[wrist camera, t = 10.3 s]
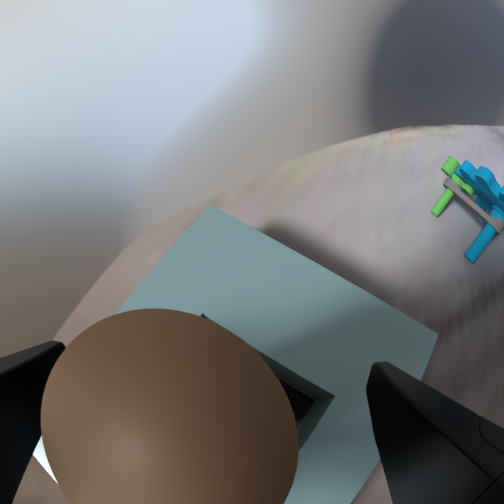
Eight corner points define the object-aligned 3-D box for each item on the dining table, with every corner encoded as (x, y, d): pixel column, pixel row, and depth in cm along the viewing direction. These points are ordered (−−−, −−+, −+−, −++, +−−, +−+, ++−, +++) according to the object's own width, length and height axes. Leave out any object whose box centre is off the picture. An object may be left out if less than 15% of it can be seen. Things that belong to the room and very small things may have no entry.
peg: (249, 464, 13) (225, 591, 2) (181, 433, 14) (15, 456, 3) (280, 400, 15) (342, 374, 4) (212, 371, 16) (108, 269, 5)
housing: (247, 570, 9) (245, 608, 5) (69, 441, 13) (23, 441, 9) (400, 354, 16) (438, 334, 12) (219, 249, 19) (210, 204, 15)
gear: (539, 249, 17) (570, 233, 10) (503, 300, 19) (519, 309, 12) (457, 173, 23) (446, 125, 16) (424, 220, 25) (400, 192, 18)
